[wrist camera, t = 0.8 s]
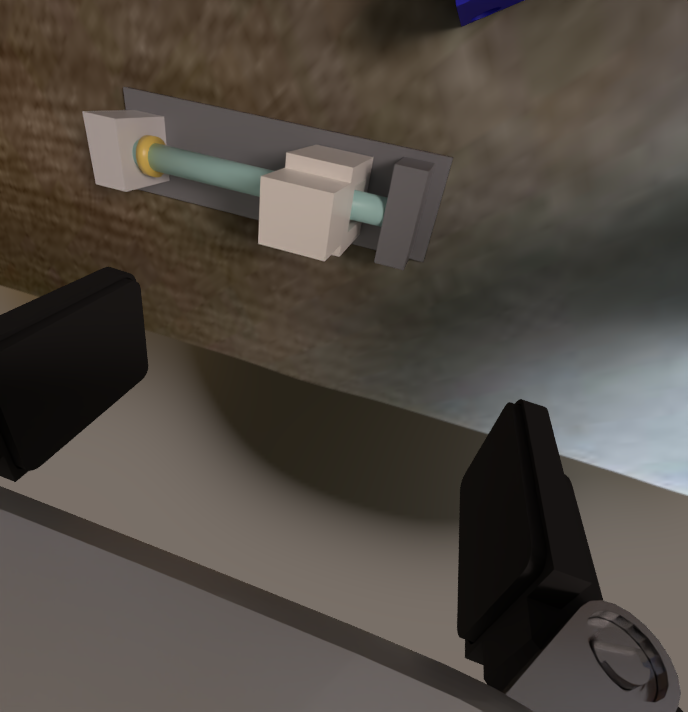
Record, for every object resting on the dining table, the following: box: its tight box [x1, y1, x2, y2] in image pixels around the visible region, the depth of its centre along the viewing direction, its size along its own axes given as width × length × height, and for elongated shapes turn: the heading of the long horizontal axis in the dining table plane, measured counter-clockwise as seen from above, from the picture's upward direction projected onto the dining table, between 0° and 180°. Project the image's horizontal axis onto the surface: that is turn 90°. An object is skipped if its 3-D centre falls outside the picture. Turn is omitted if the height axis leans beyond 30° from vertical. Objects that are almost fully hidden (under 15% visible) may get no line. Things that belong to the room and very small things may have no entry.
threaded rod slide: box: [82, 87, 453, 270], centre depth 27 cm, size 24×7×5 cm, turn 81°
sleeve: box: [258, 145, 374, 261], centre depth 25 cm, size 4×5×8 cm
